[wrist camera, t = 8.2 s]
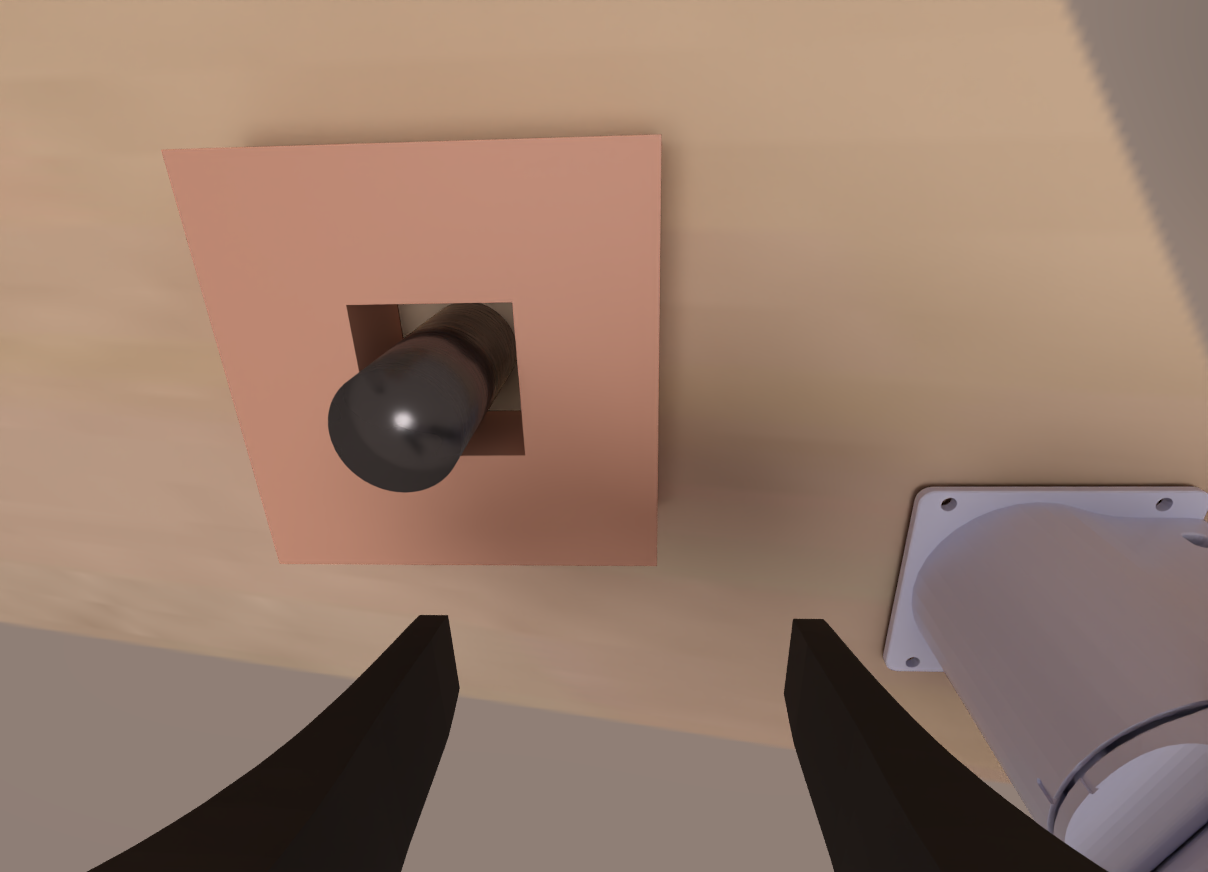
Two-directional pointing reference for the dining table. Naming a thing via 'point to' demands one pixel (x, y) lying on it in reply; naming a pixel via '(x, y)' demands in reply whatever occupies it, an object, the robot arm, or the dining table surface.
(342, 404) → the peg
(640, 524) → the socket block
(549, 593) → the dining table surface
